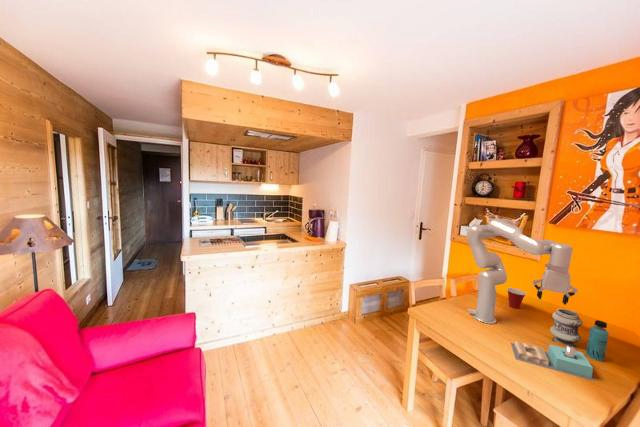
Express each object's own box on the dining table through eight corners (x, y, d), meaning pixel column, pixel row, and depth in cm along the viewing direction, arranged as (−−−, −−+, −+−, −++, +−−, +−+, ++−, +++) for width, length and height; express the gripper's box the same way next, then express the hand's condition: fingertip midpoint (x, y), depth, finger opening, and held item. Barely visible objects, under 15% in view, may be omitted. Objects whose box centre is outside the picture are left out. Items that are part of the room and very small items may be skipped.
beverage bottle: (581, 355, 131) (587, 318, 129) (593, 355, 132) (599, 318, 130) (595, 364, 125) (602, 325, 123) (608, 364, 125) (615, 325, 123)
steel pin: (564, 365, 121) (567, 347, 120) (562, 361, 124) (564, 344, 123) (573, 368, 120) (576, 350, 119) (570, 364, 122) (573, 346, 121)
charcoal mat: (515, 362, 125) (515, 359, 125) (510, 345, 138) (510, 342, 138) (595, 384, 112) (596, 381, 112) (581, 363, 125) (581, 361, 125)
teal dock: (555, 368, 119) (556, 358, 119) (547, 353, 130) (549, 344, 129) (591, 378, 114) (593, 367, 113) (580, 362, 124) (581, 352, 124)
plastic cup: (527, 311, 177) (529, 294, 175) (509, 309, 179) (511, 292, 178) (519, 304, 187) (521, 288, 186) (502, 302, 190) (504, 286, 188)
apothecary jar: (549, 334, 150) (554, 304, 148) (579, 343, 141) (584, 312, 139) (547, 342, 141) (552, 311, 139) (578, 353, 133) (584, 320, 131)
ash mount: (518, 357, 126) (519, 353, 126) (514, 345, 136) (515, 341, 135) (548, 365, 121) (548, 360, 121) (541, 352, 131) (542, 348, 130)
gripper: (537, 267, 130) (531, 299, 133) (584, 275, 122) (577, 309, 124) (534, 262, 136) (528, 293, 139) (578, 270, 128) (571, 302, 131)
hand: (551, 300), depth 132 cm, fingers open, 9 cm apart
